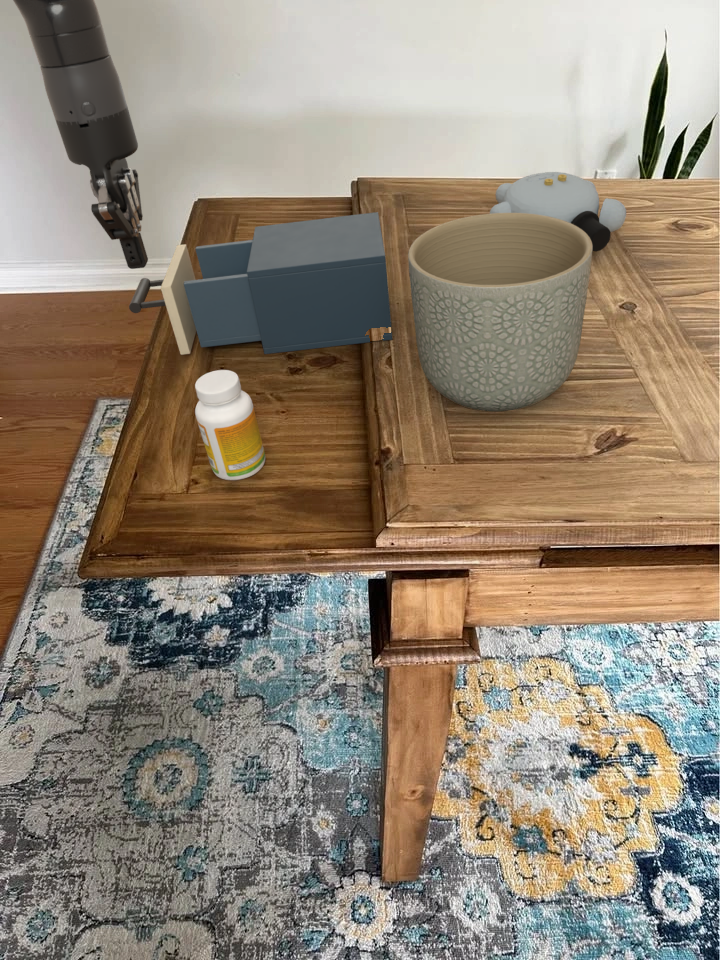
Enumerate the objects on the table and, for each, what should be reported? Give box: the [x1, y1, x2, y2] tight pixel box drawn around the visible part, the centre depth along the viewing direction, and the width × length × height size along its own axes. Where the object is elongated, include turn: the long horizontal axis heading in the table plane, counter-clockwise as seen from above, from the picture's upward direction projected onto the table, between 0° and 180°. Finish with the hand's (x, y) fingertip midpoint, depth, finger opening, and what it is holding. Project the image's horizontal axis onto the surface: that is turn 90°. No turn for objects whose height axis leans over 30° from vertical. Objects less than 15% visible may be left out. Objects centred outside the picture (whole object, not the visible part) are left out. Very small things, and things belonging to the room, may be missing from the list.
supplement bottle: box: [194, 369, 266, 481], centre depth 69 cm, size 5×5×10 cm
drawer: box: [128, 239, 262, 356], centre depth 90 cm, size 20×12×9 cm, turn 92°
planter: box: [407, 213, 593, 413], centre depth 73 cm, size 17×17×15 cm
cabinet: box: [247, 211, 393, 355], centre depth 90 cm, size 16×14×11 cm
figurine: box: [489, 171, 627, 252], centre depth 103 cm, size 17×8×20 cm
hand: (138, 265), depth 88 cm, fingers closed
